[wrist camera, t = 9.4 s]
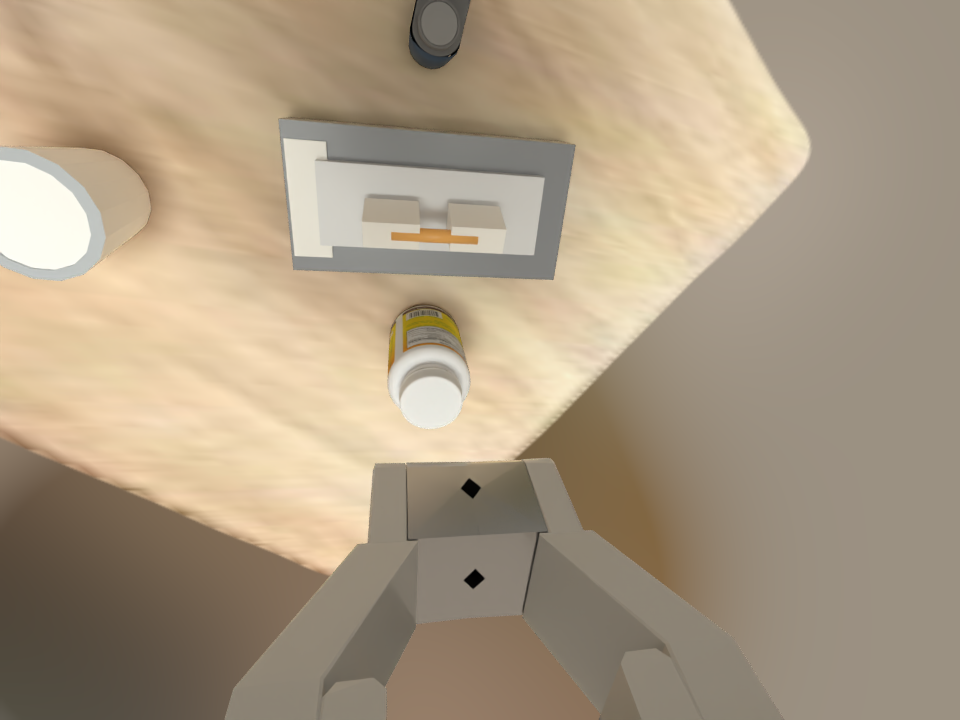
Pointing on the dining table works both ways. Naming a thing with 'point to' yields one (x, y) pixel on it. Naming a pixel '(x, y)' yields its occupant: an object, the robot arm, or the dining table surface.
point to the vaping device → (437, 31)
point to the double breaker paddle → (401, 229)
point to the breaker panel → (421, 195)
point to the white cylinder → (66, 209)
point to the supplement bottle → (427, 367)
